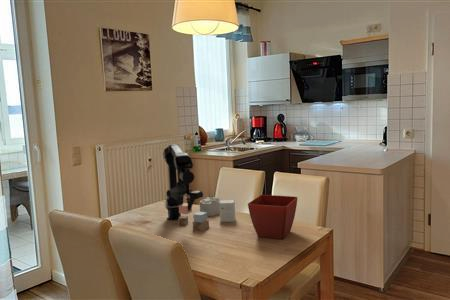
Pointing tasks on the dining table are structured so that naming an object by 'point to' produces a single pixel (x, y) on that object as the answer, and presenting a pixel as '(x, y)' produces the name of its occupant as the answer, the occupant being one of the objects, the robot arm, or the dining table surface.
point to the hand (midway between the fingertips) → (185, 210)
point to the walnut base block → (201, 225)
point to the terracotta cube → (184, 209)
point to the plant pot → (272, 215)
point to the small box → (227, 211)
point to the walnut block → (183, 220)
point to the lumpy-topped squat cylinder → (210, 206)
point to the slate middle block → (200, 217)
